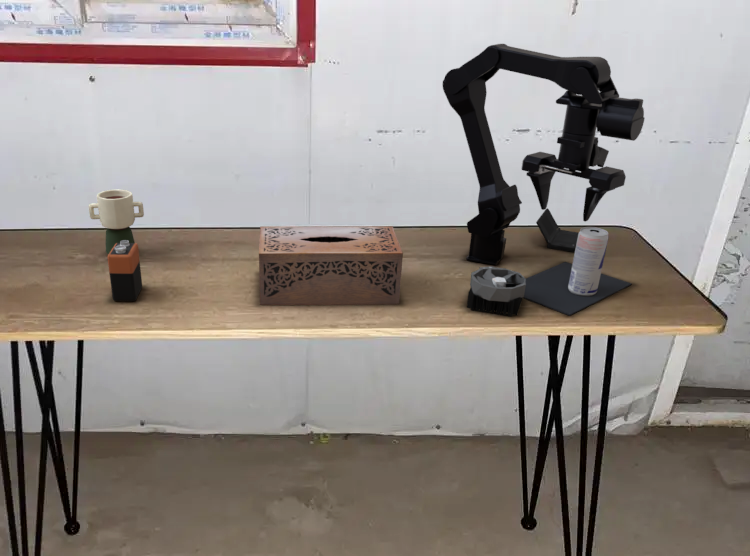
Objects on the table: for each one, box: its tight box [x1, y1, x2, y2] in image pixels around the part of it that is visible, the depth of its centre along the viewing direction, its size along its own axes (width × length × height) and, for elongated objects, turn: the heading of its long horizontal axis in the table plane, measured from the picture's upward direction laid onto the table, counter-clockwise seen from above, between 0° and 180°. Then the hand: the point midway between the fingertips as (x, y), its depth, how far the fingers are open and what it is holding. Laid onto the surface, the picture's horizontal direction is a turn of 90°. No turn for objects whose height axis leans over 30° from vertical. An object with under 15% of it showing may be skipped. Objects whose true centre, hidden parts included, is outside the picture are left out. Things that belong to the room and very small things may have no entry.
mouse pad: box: [522, 261, 633, 317], centre depth 151 cm, size 15×22×1 cm
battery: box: [107, 240, 143, 302], centre depth 143 cm, size 4×7×10 cm, turn 179°
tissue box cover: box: [258, 225, 404, 306], centre depth 147 cm, size 26×14×10 cm, turn 92°
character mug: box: [88, 188, 145, 255], centre depth 160 cm, size 11×7×13 cm, turn 100°
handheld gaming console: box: [535, 207, 580, 253], centre depth 172 cm, size 12×7×10 cm
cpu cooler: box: [466, 265, 526, 318], centre depth 143 cm, size 10×6×10 cm
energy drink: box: [568, 226, 609, 296], centre depth 146 cm, size 5×5×12 cm
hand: (564, 215), depth 149 cm, fingers open, 9 cm apart
